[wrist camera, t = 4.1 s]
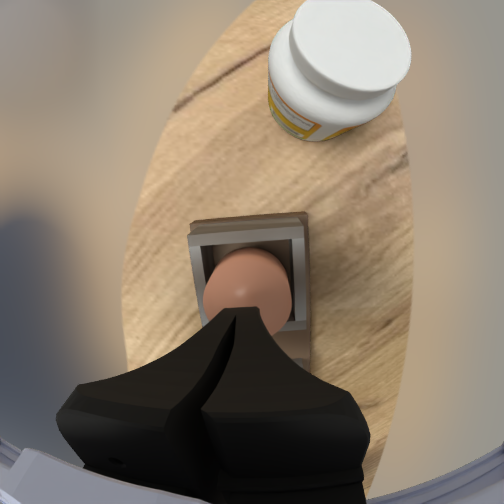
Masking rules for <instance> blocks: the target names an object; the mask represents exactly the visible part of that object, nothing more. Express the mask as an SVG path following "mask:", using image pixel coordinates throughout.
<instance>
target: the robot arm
mask: <svg viewBox="0 0 504 504" xmlns="http://www.w3.org/2000/svg"><path fill="white" fill-rule="evenodd" d="M56 422H57V425H58V428H59V431H60V432H61V434H62V435H63V437H64V438H65V440H66V441H67V442H68V444H69V445H70V446H71V447H72V449H73V450H74V451H75V452H76V454H77V455H78V456H79V457H80V459H81V460H82V461H83V462H84V463H85V465H84V467H83V468H80V467H77V466H75V465H72V464H70V463H67V462H65V461H63V460H60V459H58V458H56V457H53V456H51V455H49V454H47V453H45V452H42V451H38V450H35V449H32V448H25V449H24V450H23V451H22V450H20V449H18V448H17V447H15V446H13V445H12V444H10V443H8V442H7V441H5V440H4V439H2V438H1V437H0V501H1V502H2V503H3V504H504V442H503V444H502V445H501V446H499V447H498V448H496V449H494V450H493V451H491V452H489V453H487V454H486V455H484V456H482V457H480V458H478V459H477V460H474V461H472V462H470V463H468V464H466V465H464V466H462V467H460V468H458V469H456V470H454V471H451V472H449V473H447V474H445V475H442V476H440V477H438V478H435V479H432V480H430V481H427V482H424V483H422V484H419V485H416V486H413V487H410V488H407V489H404V490H401V491H398V492H395V493H391V494H387V495H384V496H380V497H376V498H372V499H368V500H366V498H365V494H364V489H363V485H362V482H363V480H364V474H363V470H362V466H361V465H362V462H363V460H364V457H365V454H366V452H367V449H368V446H369V443H370V432H369V428H368V425H367V422H366V420H365V418H364V416H363V414H362V412H361V410H360V408H359V407H358V405H357V403H356V402H355V400H354V398H353V397H352V395H351V394H350V393H349V392H348V391H345V390H343V389H341V388H338V387H336V386H334V385H331V384H329V383H327V382H324V381H322V380H321V379H319V378H317V377H315V376H314V375H312V374H310V373H309V372H307V371H306V370H305V369H303V368H302V367H300V366H299V365H298V364H297V363H295V362H294V361H293V360H292V359H291V358H290V357H289V356H288V355H287V354H286V353H285V352H284V351H283V350H282V349H281V348H280V347H279V345H278V344H277V343H276V341H275V340H274V339H273V337H272V336H271V335H270V333H269V331H268V330H267V328H266V326H265V325H264V323H263V320H262V318H261V315H260V309H259V308H258V307H257V306H253V307H235V308H224V309H222V310H221V311H220V312H219V313H218V314H217V315H216V316H215V317H214V318H213V319H212V320H211V321H209V322H208V323H207V324H206V325H205V326H204V327H203V328H202V329H201V330H199V331H198V332H197V333H196V334H194V335H193V336H192V337H191V338H189V339H188V340H187V341H186V342H184V343H183V344H182V345H180V346H179V347H177V348H176V349H174V350H173V351H171V352H169V353H168V354H166V355H164V356H163V357H161V358H159V359H157V360H155V361H153V362H151V363H148V364H146V365H144V366H142V367H140V368H138V369H135V370H132V371H130V372H127V373H124V374H121V375H118V376H115V377H112V378H108V379H104V380H99V381H95V382H90V383H86V384H80V385H78V386H77V387H76V388H75V390H74V391H73V392H72V394H71V395H70V396H69V398H68V399H67V400H66V402H65V403H64V404H63V406H62V407H61V409H60V410H59V412H58V413H57V414H56Z"/></svg>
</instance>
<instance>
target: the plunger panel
mask: <svg viewBox="0 0 504 504" xmlns="http://www.w3.org/2000/svg"><path fill="white" fill-rule="evenodd" d="M190 230H191V232H190V233H189V234H188V235H187V238H188V245H189V252H190V258H191V265H192V271H193V277H194V283H195V289H196V295H197V300H198V306H199V311H200V317H201V322H202V327H204V326H205V325H206V324H207V323H208V322H209V320H208V318H207V316H206V314H205V311H204V307H203V294H204V290H205V287H206V285H207V283H208V281H209V279H210V277H211V275H212V273H213V271H214V269H215V267H216V265H217V264H218V262H219V261H220V260H221V259H222V258H223V257H224V256H225V255H226V254H228V253H229V252H231V251H233V250H236V249H239V248H244V247H254V248H260V249H263V250H266V251H268V252H270V253H271V254H273V255H274V256H275V257H276V258H277V259H279V261H280V262H281V263H282V265H283V266H284V268H285V270H286V273H287V277H288V282H289V287H290V293H291V299H292V307H291V312H290V315H289V318H288V320H287V322H286V323H285V324H284V326H283V327H282V328H281V329H280V330H279V331H278V332H276V333H275V334H273V335H272V337H273V339H274V340H275V341H276V343H277V344H278V345H279V347H280V348H281V349H282V350H283V351H284V352H285V353H286V354H287V355H288V356H289V357H290V358H291V359H292V360H293V361H294V362H295V363H297V364H298V365H299V366H300V367H302V368H303V369H305V370H306V371H307V372H309V373H310V260H309V233H308V214H307V213H306V212H291V213H277V214H264V215H251V216H240V217H228V218H217V219H207V220H196V221H193V222H192V223H191V224H190Z"/></svg>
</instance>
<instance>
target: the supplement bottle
mask: <svg viewBox="0 0 504 504" xmlns="http://www.w3.org/2000/svg"><path fill="white" fill-rule="evenodd" d="M410 63H411V47H410V44H409V40H408V37H407V35H406V33H405V31H404V30H403V28H402V27H401V25H400V24H399V23H398V21H397V20H396V19H395V18H394V17H393V16H392V15H391V14H390V13H389V12H388V11H387V10H385V9H384V8H383V7H381V6H380V5H378V4H377V3H375V2H373V1H370V0H307V1H305V2H304V3H303V4H302V5H301V6H300V7H299V9H298V10H297V12H296V14H295V16H294V18H293V19H292V20H290V21H289V22H288V23H286V24H285V25H284V26H283V27H282V28H281V29H280V30H279V31H278V32H277V34H276V36H275V37H274V39H273V41H272V44H271V47H270V52H269V57H268V102H269V107H270V110H271V113H272V115H273V117H274V119H275V120H276V122H277V123H278V124H279V125H280V127H281V128H282V129H284V130H285V131H286V132H287V133H289V134H291V135H292V136H294V137H296V138H299V139H302V140H306V141H324V140H328V139H331V138H334V137H336V136H338V135H340V134H342V133H344V132H346V131H349V130H351V129H353V128H355V127H358V126H360V125H362V124H364V123H366V122H368V121H370V120H372V119H374V118H375V117H377V116H378V115H380V114H381V113H382V112H383V111H384V110H385V109H386V108H387V107H388V105H389V104H390V102H391V101H392V99H393V97H394V94H395V91H396V86H397V84H398V83H399V82H400V81H402V79H403V78H404V77H405V76H406V74H407V72H408V70H409V67H410Z"/></svg>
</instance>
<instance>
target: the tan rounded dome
mask: <svg viewBox="0 0 504 504" xmlns="http://www.w3.org/2000/svg"><path fill="white" fill-rule="evenodd" d="M253 306H257V307H258V308H259V309H260V315H261V318H262V320H263V323H264V325H265V326H266V328H267V330H268V331H269V333H270V335H271V336H272V335H273V334H275V333H276V332H278V331H279V330H280V329H281V328H282V327H283V326H284V324H285V323H286V322H287V320H288V318H289V315H290V312H291V307H292V299H291V293H290V287H289V282H288V277H287V273H286V270H285V268H284V266H283V265H282V263H281V262H280V261H279V259H277V258H276V257H275V256H274V255H273V254H271V253H270V252H268V251H266V250H263V249H260V248H254V247H244V248H239V249H236V250H233V251H231V252H229V253H228V254H226V255H225V256H224V257H223V258H222V259H221V260H220V261H219V262H218V264H217V265H216V267H215V269H214V271H213V273H212V275H211V277H210V279H209V281H208V283H207V285H206V287H205V290H204V294H203V307H204V311H205V314H206V316H207V318H208V320H209V321H211V320H212V319H213V318H214V317H215V316H216V315H217V314H218V313H219V312H220V311H221V310H222V309H224V308H235V307H253Z"/></svg>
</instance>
